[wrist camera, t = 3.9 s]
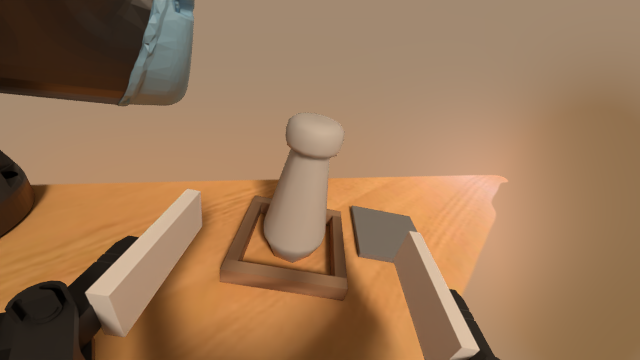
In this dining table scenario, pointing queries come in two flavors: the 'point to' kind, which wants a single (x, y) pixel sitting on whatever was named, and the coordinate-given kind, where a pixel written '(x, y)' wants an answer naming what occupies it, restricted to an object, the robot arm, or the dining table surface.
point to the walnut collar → (281, 277)
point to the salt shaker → (303, 187)
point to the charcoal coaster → (379, 233)
